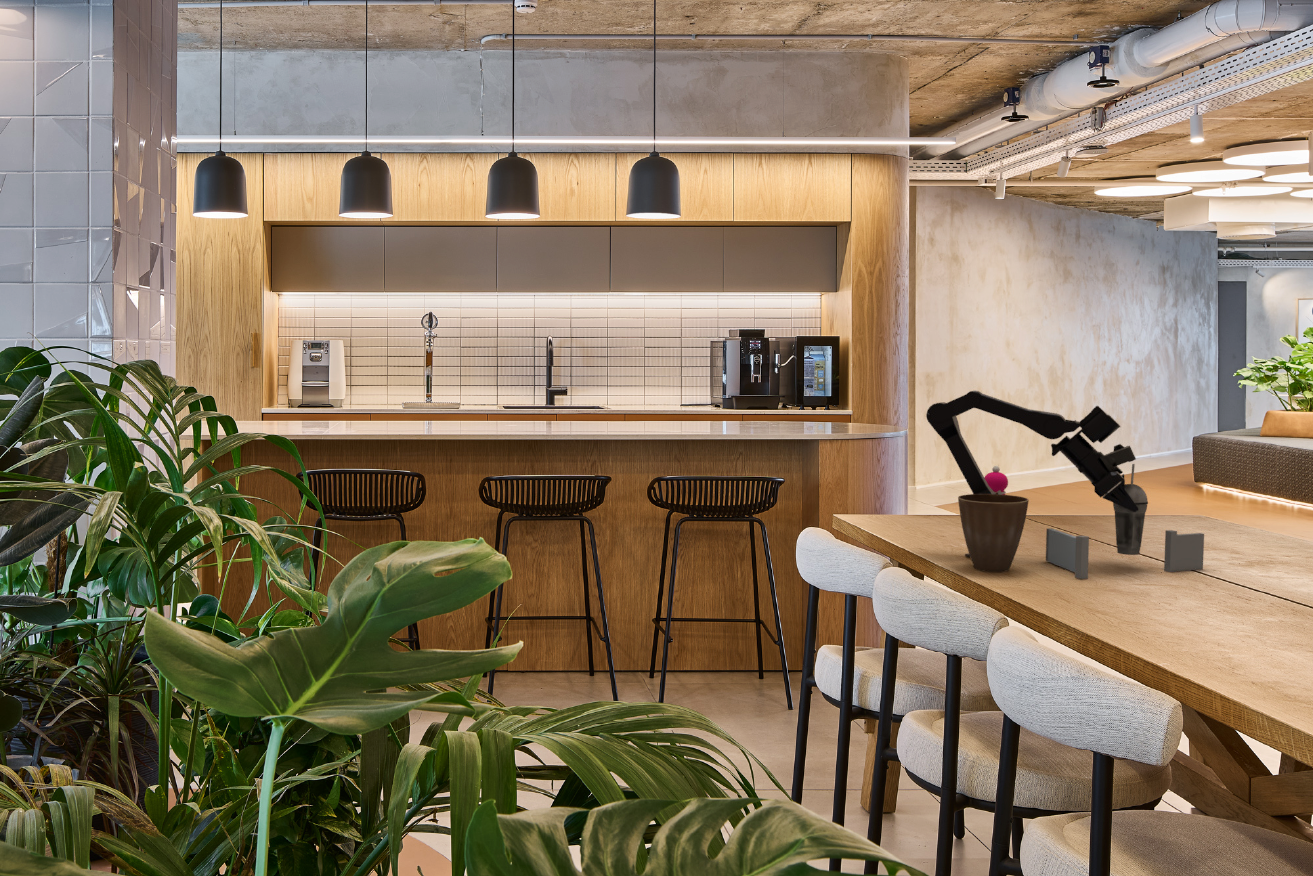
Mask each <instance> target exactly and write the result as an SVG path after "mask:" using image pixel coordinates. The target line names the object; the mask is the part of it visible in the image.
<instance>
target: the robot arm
mask: <svg viewBox="0 0 1313 876" xmlns="http://www.w3.org/2000/svg"><path fill="white" fill-rule="evenodd" d="M972 409H978V410H980V411H983V412H986V413H988V414H991V415H995V416H998V417H1000V418H1002V419H1003V418H1004V419H1006V420H1009V421H1011V422H1014V423H1016V424H1017V423H1018V424H1020V425H1023V426H1025V427H1026V428H1028V429H1030V430H1031V431H1033V432H1035V433H1037V434H1038V435H1040V436H1042V437H1043V438H1046V439H1049V440H1057V439H1059V438H1061V437H1063V436H1064V435H1065V434H1067V433H1074V432H1075V431H1076V430H1078V429H1079V428H1081V429H1080V430H1079V431H1077V432H1076V433H1075V434H1074V435H1073V436H1072V437H1069V436H1068V435H1065V436H1064V437H1063V438H1062V439H1061V440H1060V441H1059V442H1058V443H1050V444H1051V445H1050V447H1051V456H1053V457H1055V456H1056V455H1057V454H1058V453H1059V452H1060V453H1062V455H1064V457H1065V458H1067V460H1068V461H1069V462H1071V464H1072V465H1074V467H1076V469H1077V471H1078V472H1079V473H1080V474H1082V475H1083V476H1084V477H1086V479H1087V480H1088V481H1090V484H1091V485H1092V486H1093V487H1094V488H1093V489H1094V493H1095V494H1096V495H1098V497H1099V498H1102V499H1103V500H1107V501H1108V502H1111V503H1112V504H1113V503H1115V504H1118V505H1120V506H1122V507H1124V508H1126V509H1129V510H1131V511H1133V512H1136V511H1138V510H1139V508H1138V507H1137V506H1136V504H1135V503H1134V501H1133V500H1132V498H1131V497H1130V496H1129V494H1128V493H1127V491H1126V490H1125V483H1126V479H1125V474H1124V472H1123V470H1122V469H1121V468H1120V467H1119V466H1121V465H1123V464H1126V463H1130V462H1134V461H1136V460H1137V458H1136V456H1135V453H1134V451H1133V449H1132V447H1131V445H1126V446H1123V444H1121V443H1119V444H1116V445H1114V446H1113V451H1109V453H1106V454H1104V453H1103V452H1102V451H1098V450H1097V449H1095V447H1094V446H1093V445H1092V444H1090V443H1089V441H1088V440H1090V442H1091V443H1093V444H1095V443H1096V442H1099V443H1100V444H1101V443H1103V442H1104V441H1105V440H1106V439H1108V438H1109V437H1110V436H1111V435H1113V433H1114V432H1116V431H1117V430H1118V429H1119V428H1121V425H1120V424H1119V423H1118V422H1117V421H1116V420H1115V419H1114V418H1113V417H1112V415H1110V414H1108V413H1107V412H1105V410H1104V409H1102V408H1101V407H1100V406H1099V405H1096V406H1095V407H1093V408H1092V409H1091V411H1090V412H1089V413H1087V414H1086V415H1085V417H1083V418H1082V419H1081V420H1080V421H1077V420H1076V419H1074V420H1070V419H1066V418H1065V417H1064V416H1063V415H1062V414H1060V413H1055V412H1049V411H1044V410H1043V411H1042V410H1036V409H1035V410H1034V409H1030V408H1029V409H1028V408H1026V407H1023V406H1020V405H1017V404H1015V403H1011V402H1008V401H1005V400H1003V399H999V398H996V397H993V396H990V395H987V394H984V393H983V392H982V391H979V390H970V391H969V392H967V393H966V394H964V395H960V396H959V397H957V398H954V399H953V400H951V401H949V402H936V403H932V404H931V405H930V406H929V407H928V409H927V411H926V414H925V415H926V416H925V417H926V420H927V423H929V424H930V426H931V428H933V430H934V431H935V432H936V433H937V435H938V436H939V437H940V438H941V439H942V440H943V441H944V443H946V445H947V447H948V449H949V451H950V453H951V455H952V457H953V458H954V460H955V462H956V464H957V466H958V468H959V470H960V472H961V473H962V475H963V478H964V479H965V481H966V483H967V486H968V487H969V489H970V491H971V492H972V494H1000V495H1002V493H1001V491H1000V490H999V491H998V492H996V493H995V492H994V491H993V490H992V489H991V488H990V487H989V485H988V484H987V482H986V480H985V478H984V477H985V476H984V474H983V473H982V470H981V468H980V466H979V465H978V463H977V461H976V459H975V458H974V457H975V456H973V454H972V452H971V450H970V448H969V446H968V445H967V443H966V440H965V439H964V437H963V435H962V433H961V429H960V425H959V421H958V418H957V416H959V415H961V414H963V413H966V412H968V411H970V410H972ZM1081 434H1083V435H1084V436H1085V437H1086V438H1087V439H1088V440H1086V438H1085V437H1083V436H1082V435H1081ZM1122 473H1123V474H1122ZM964 557H968V558H970V555H969V552H968V553H964Z"/></svg>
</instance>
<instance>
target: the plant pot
mask: <svg viewBox="0 0 1313 876" xmlns="http://www.w3.org/2000/svg"><path fill="white" fill-rule="evenodd" d="M957 499H958V500H957V501H958V508H959V517H960V521H961V528H962V531H963V537H964V540H965V544H966V548H967V552H968V553H969V555H970V557H969V558H970V561H971V563H972V566H973V568H974V570H977V571H980V572H981V571H982V572H987V573H988V572H989V573H1004V572H1008V571H1009V569H1010V568H1011V565H1012V563H1013V561H1014V558H1015V556H1016V553H1017V551H1018V547H1019V545H1020V542H1021V539H1022V538H1021V537H1022V534H1023V531H1024V527H1025V523H1026V518H1027V512H1028V509H1029V498H1028V497H1027V498H1026V497H1023V496H1019V495H1013V494H1011V495H1010V494H1005V495H1000V494H973V493H971V494H969V493H968V494H964V495H963V494H961V495H958V496H957Z"/></svg>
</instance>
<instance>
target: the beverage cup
mask: <svg viewBox="0 0 1313 876" xmlns="http://www.w3.org/2000/svg"><path fill="white" fill-rule="evenodd" d="M1131 464H1132V466H1131V476H1130V477H1131V478H1130V483H1126V484H1125V490H1126V491H1127V493H1128V494H1129V496H1130V497H1131V498H1132V500H1133V501H1134V503H1135V504H1136V506H1137V507H1138V508H1139V510H1138V511H1136V512H1133V511H1131V510H1129V509H1126V508H1124V507H1122V506H1120V505H1118V504H1115V503H1113V502H1112V505H1113V511H1114V521H1115V522H1114V523H1115V524H1114V525H1115V538H1116V539H1115V541H1116V549H1117V550H1116V552H1117V553H1118V554H1119V555H1128V556H1138V555H1140V553H1141V547H1142V540H1143V532H1144V525H1145V517H1146V513H1147V509H1148V504H1149V502H1148V496H1147V493H1146V491H1145V490H1144V489H1143V488H1142V487H1141V486H1139V485H1138V484H1134V480H1135V479H1134V478H1135V477H1134V476H1135V466H1136V464H1135V463H1131Z"/></svg>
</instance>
